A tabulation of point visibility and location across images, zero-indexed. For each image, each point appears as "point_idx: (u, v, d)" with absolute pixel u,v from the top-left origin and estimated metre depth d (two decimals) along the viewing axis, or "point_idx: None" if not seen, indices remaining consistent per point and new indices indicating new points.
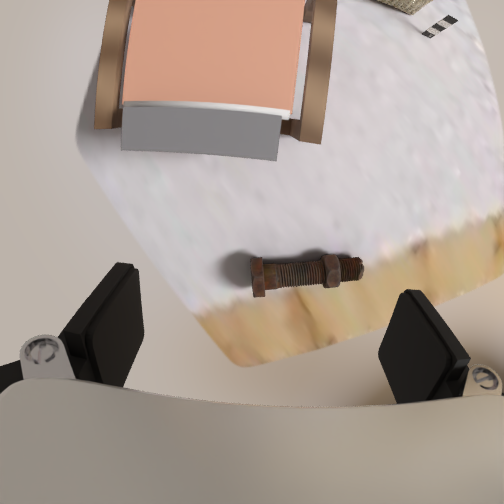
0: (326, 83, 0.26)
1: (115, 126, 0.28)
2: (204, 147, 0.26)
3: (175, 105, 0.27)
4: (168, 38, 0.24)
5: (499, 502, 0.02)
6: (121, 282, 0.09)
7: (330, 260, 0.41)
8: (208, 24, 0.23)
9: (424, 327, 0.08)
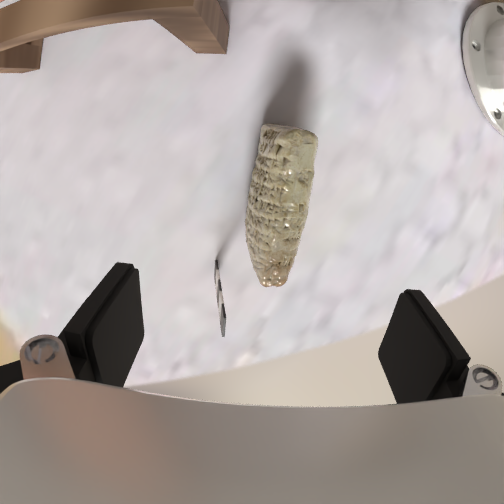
0: None
1: None
2: None
3: None
4: None
5: (499, 502, 0.02)
6: (121, 282, 0.09)
7: None
8: None
9: (424, 327, 0.08)
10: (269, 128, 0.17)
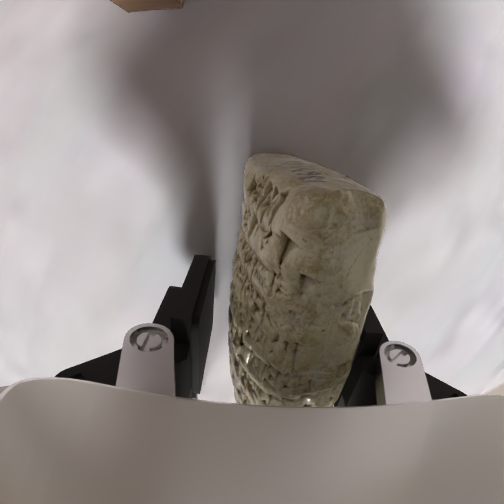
0: None
1: None
2: None
3: None
4: None
5: (499, 502, 0.02)
6: (207, 272, 0.10)
7: None
8: None
9: None
10: (260, 173, 0.08)
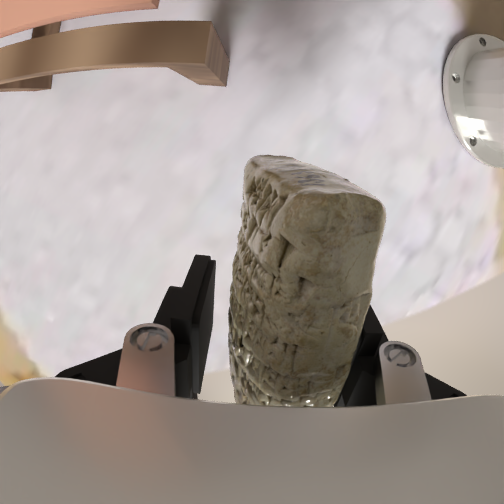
0: (2, 76, 0.11)
1: None
2: None
3: None
4: None
5: (499, 502, 0.02)
6: (207, 272, 0.10)
7: None
8: None
9: None
10: (260, 176, 0.08)
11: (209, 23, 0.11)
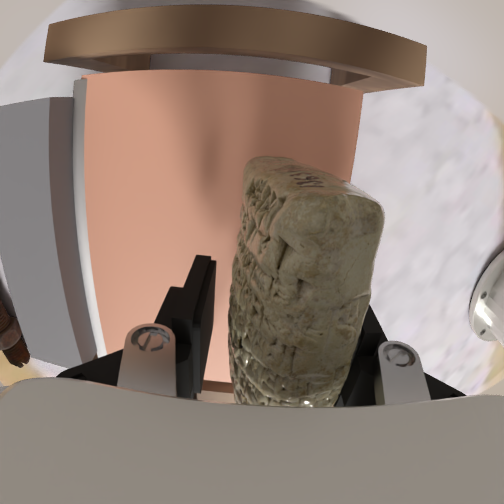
0: None
1: (56, 63, 0.11)
2: (10, 266, 0.13)
3: (76, 192, 0.13)
4: (220, 167, 0.13)
5: (499, 502, 0.02)
6: (208, 272, 0.10)
7: (10, 336, 0.27)
8: None
9: None
10: (259, 177, 0.08)
11: None
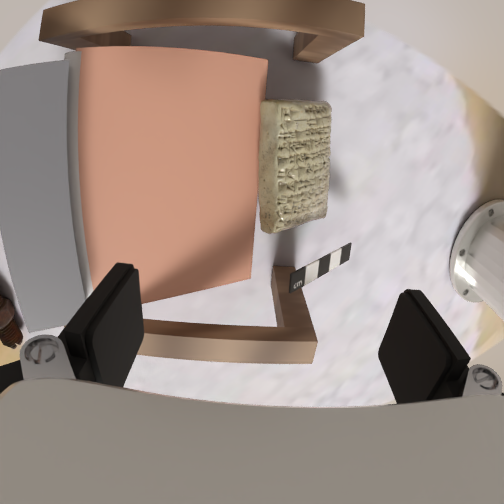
0: (143, 352, 0.20)
1: (49, 42, 0.12)
2: (10, 228, 0.12)
3: (70, 146, 0.14)
4: (185, 113, 0.17)
5: (499, 502, 0.02)
6: (121, 282, 0.09)
7: (3, 315, 0.28)
8: (205, 171, 0.19)
9: (424, 327, 0.08)
10: (308, 104, 0.19)
11: (316, 342, 0.20)
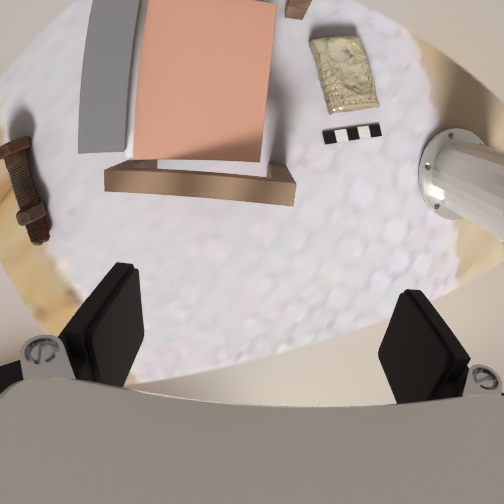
0: (163, 192, 0.27)
1: None
2: (88, 79, 0.20)
3: (136, 43, 0.22)
4: (214, 32, 0.23)
5: (499, 502, 0.02)
6: (121, 282, 0.09)
7: (37, 210, 0.36)
8: (226, 70, 0.25)
9: (424, 327, 0.08)
10: None
11: (295, 185, 0.27)
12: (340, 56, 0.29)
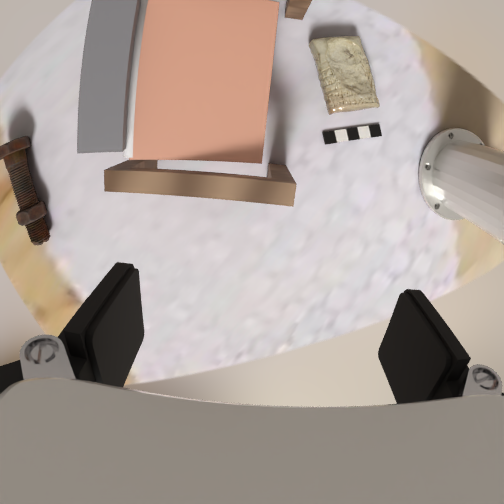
0: (163, 192, 0.27)
1: None
2: (87, 79, 0.20)
3: (136, 43, 0.22)
4: (214, 31, 0.23)
5: (499, 502, 0.02)
6: (121, 282, 0.09)
7: (37, 210, 0.36)
8: (227, 69, 0.24)
9: (424, 327, 0.08)
10: None
11: (295, 185, 0.27)
12: (340, 56, 0.29)
